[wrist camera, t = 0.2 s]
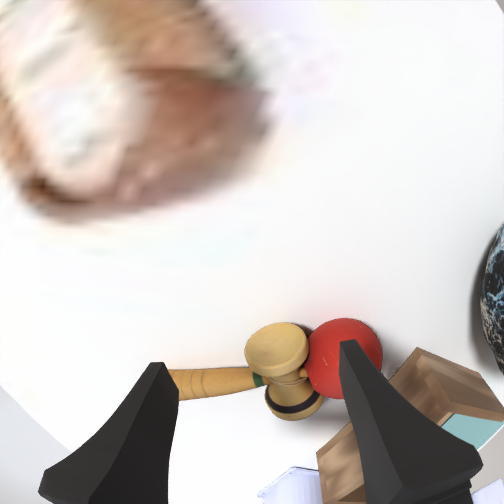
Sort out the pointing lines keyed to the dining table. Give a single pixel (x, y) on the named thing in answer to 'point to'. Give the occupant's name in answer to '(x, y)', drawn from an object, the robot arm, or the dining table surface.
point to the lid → (471, 428)
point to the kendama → (285, 367)
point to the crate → (422, 398)
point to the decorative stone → (494, 299)
